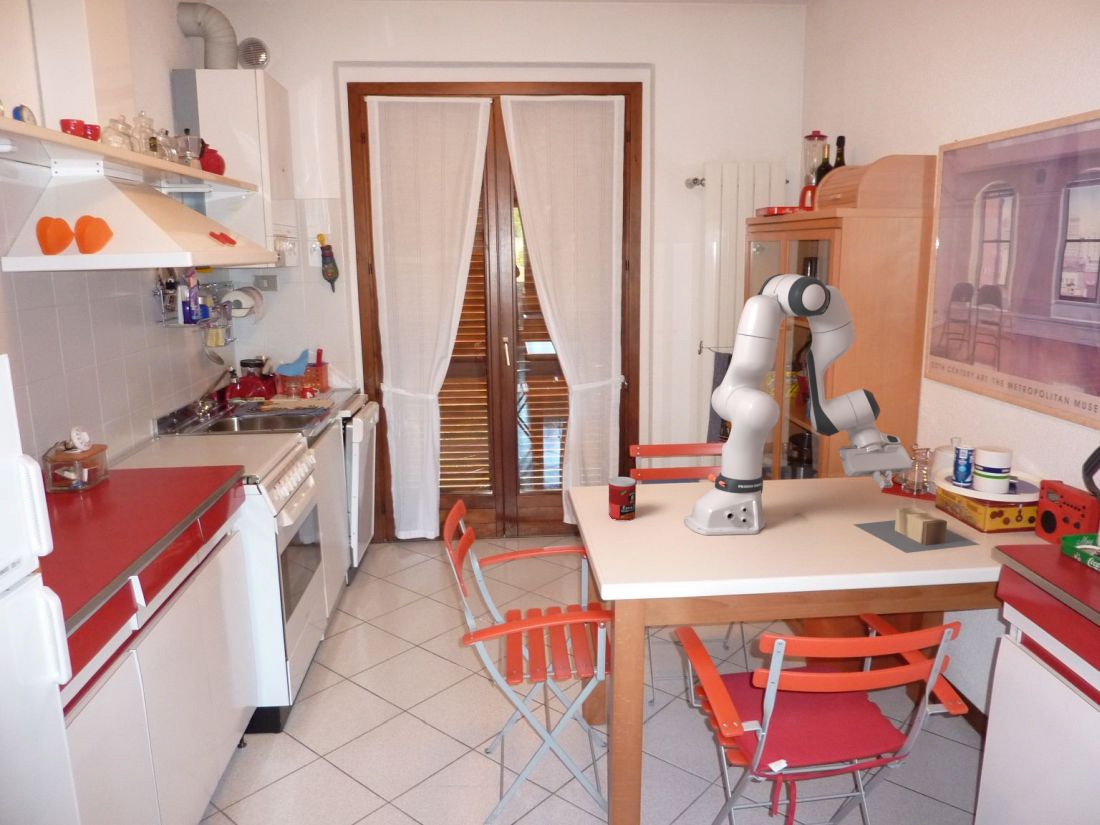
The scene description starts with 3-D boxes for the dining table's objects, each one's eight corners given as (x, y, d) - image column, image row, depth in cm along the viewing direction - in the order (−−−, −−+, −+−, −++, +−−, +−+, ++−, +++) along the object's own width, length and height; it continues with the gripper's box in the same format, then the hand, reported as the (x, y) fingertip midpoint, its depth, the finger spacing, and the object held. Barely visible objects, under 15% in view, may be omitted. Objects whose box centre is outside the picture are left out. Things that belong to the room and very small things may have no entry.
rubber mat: (906, 555, 202) (906, 552, 202) (852, 526, 223) (853, 524, 222) (979, 546, 207) (979, 544, 207) (920, 519, 228) (920, 517, 228)
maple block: (894, 530, 218) (925, 545, 206) (896, 509, 216) (927, 523, 205) (913, 528, 219) (944, 543, 208) (915, 507, 218) (947, 521, 207)
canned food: (622, 523, 226) (623, 485, 224) (602, 516, 232) (603, 480, 230) (641, 517, 231) (641, 480, 229) (621, 510, 237) (621, 475, 235)
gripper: (841, 441, 226) (860, 484, 219) (904, 437, 231) (924, 478, 224) (831, 452, 231) (849, 495, 224) (893, 448, 236) (912, 489, 229)
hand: (887, 486), depth 224 cm, fingers closed
